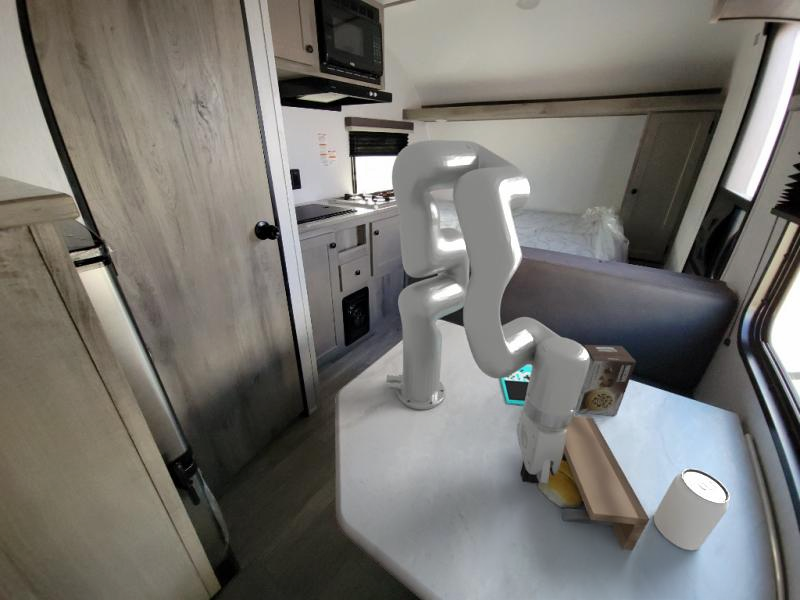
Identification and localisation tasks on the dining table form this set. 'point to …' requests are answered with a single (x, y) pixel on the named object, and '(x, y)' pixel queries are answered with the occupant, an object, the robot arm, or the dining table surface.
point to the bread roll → (562, 487)
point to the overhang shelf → (601, 484)
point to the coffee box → (605, 379)
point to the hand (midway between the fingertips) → (529, 478)
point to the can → (691, 508)
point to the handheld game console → (516, 386)
